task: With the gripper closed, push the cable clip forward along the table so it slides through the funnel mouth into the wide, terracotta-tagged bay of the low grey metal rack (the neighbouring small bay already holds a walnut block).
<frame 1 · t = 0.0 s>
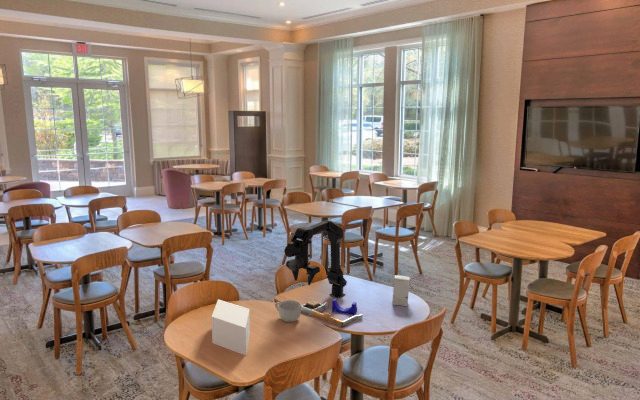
hand: (302, 282, 243), 15 cm above the table, fingers open, 9 cm apart
rack: (327, 315, 239), on the table
block: (231, 339, 213), on the table
teacup: (287, 319, 235), on the table
skincare box: (400, 304, 256), on the table
cable clip: (344, 312, 244), on the table
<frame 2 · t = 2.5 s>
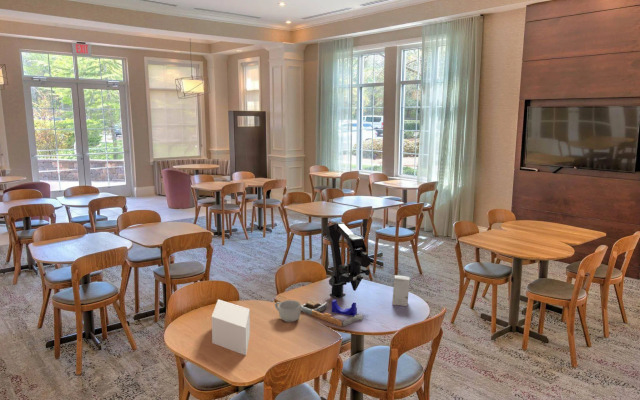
hand: (354, 290, 248), 9 cm above the table, fingers closed
nothing on the table moved.
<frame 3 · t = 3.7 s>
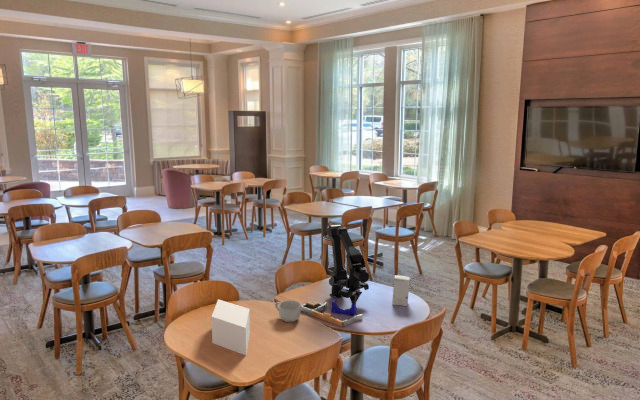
hand: (353, 305, 249), 1 cm above the table, fingers closed
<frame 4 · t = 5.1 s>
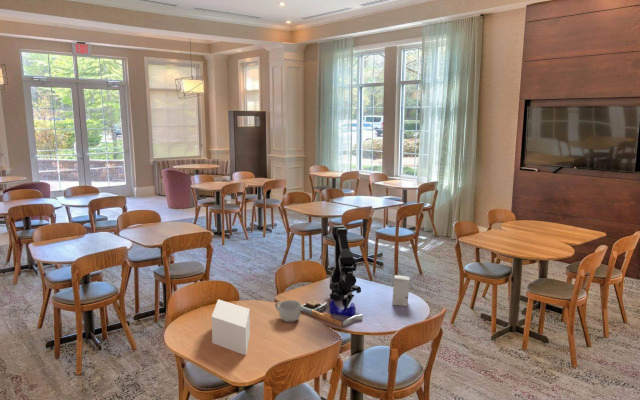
hand: (345, 308, 244), 1 cm above the table, fingers closed
cable clip: (342, 313, 242), on the table, touching gripper
everything else where it was.
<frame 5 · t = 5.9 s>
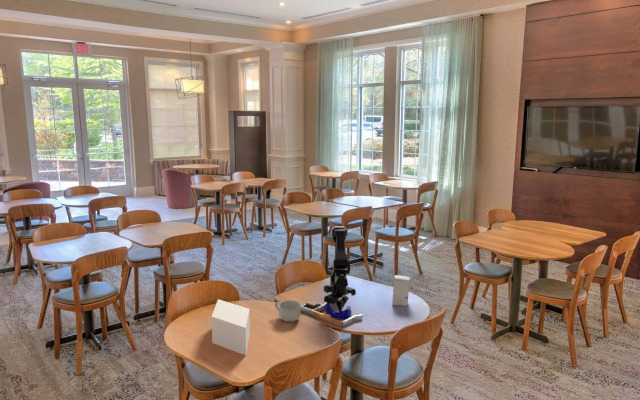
hand: (339, 311, 241), 1 cm above the table, fingers closed
cable clip: (338, 316, 238), on the table, touching gripper
everything else where it was.
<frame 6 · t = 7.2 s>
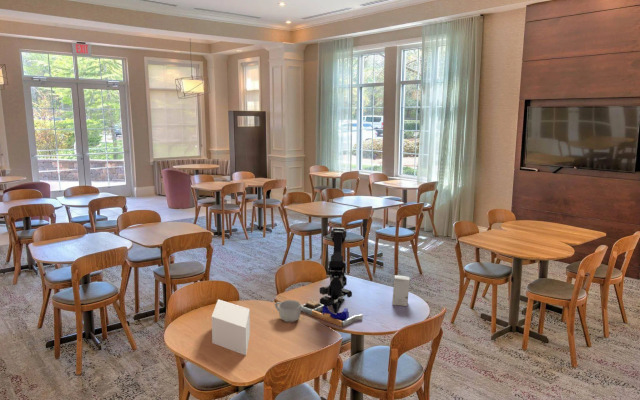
hand: (335, 313, 239), 1 cm above the table, fingers closed
cable clip: (336, 318, 236), on the table, touching gripper
everything else where it was.
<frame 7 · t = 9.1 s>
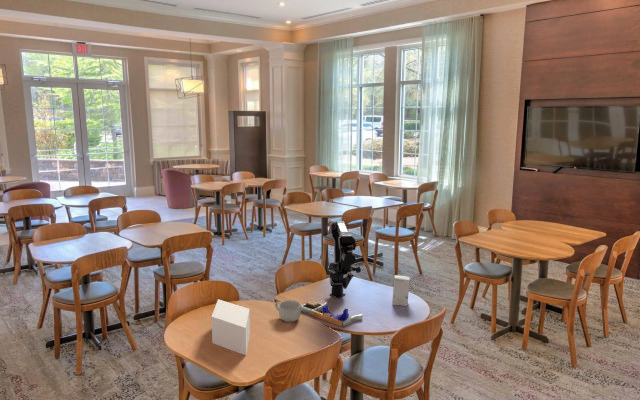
hand: (345, 288, 243), 12 cm above the table, fingers closed
cable clip: (335, 319, 235), on the table
everything else where it was.
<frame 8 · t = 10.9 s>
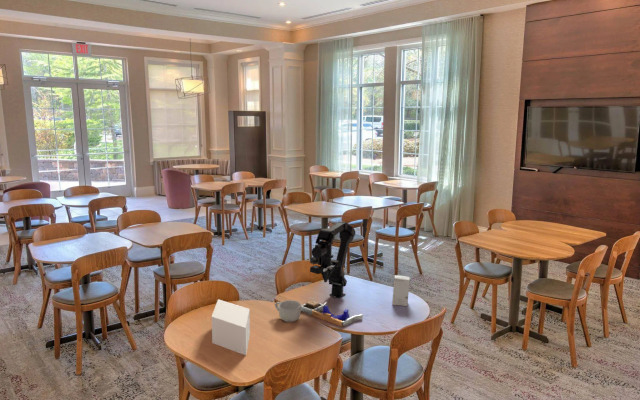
hand: (325, 282, 252), 12 cm above the table, fingers closed
nothing on the table moved.
at the end: cable clip inside the target area on the rack (2.1 cm from its centre), point 0.0 cm above the rack's base; the gripper is holding nothing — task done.
